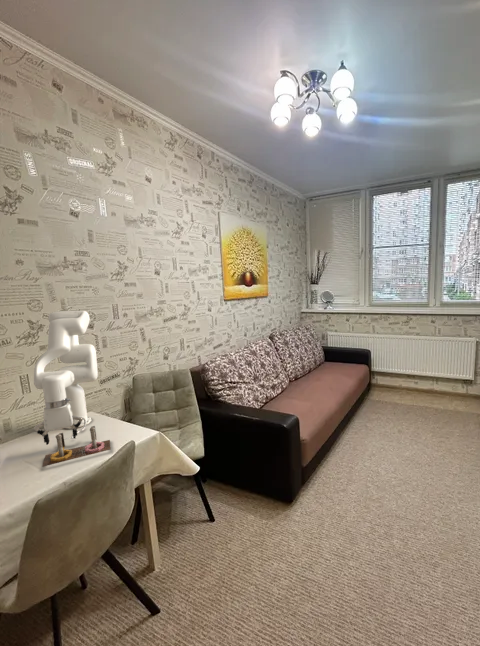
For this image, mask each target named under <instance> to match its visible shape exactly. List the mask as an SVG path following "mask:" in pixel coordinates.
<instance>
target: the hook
mask: <svg viewBox="0 0 480 646" xmlns="http://www.w3.org/2000/svg"><path fill="white" fill-rule="evenodd" d="M82 418H83V420H84V426H82V429H81V431H85V429H86V426H87V425H86V419H85V418H84V417H82ZM79 432H80V430H77V434H78V433H79ZM70 439H72V440H74V438H73V435H71V436H70V437H67V438H66V440H70ZM78 439H79V438H77V437H76V438H75V440H78Z"/></svg>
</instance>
